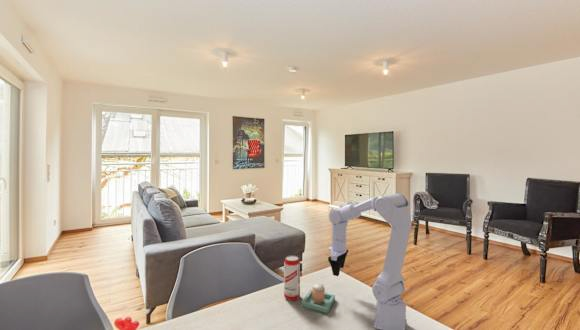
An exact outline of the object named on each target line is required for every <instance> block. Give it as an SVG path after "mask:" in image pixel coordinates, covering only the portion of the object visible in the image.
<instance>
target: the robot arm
mask: <svg viewBox="0 0 580 330" xmlns="http://www.w3.org/2000/svg"><path fill="white" fill-rule="evenodd" d="M410 208H411V202H409V200H408V198H407V197H406V196H405V195H404V194H402V193H400V192H396V193H393V194H387V195H386V194H385V195H378V196H373V197H371V198H368V199H366V200H364V201H362V202H360V203H357V202H352V201H348V202H347V204H346V205H340V206H339V208H332V209H331V210H330V211H329V212H328V218H329V219H328V220H329V221H330V223H331V246H329V247H328V250H329V251H330V252H331V255H330V256H328V257H327V258H328V259H327V261H328V262H329V263H328V264H329V265H330V267H331V271H332V276H336V277H339V275H340V272H341V269H344V267H345V264H346V263H345V262H346V258H347V256H348V253H349V249H347V226H348V222H349V221H351V220H354V219H357V218H360V216H361V215H362V213H364V212H367V211H371V210H373V212H377V213H378V215H379V216H381V218H382V219H384V220H385V222H386V223H387V224H389V225H390V226H391V230H390V235H389V240H388V246H387V250H386V255H385V258H384V259H385V260H384V264H383V268H382V271H381V272H380V273H379V275H378V276H377V277H376V280H375V282H374V283H373V284H372V288H371V290H372V291H371V292H372V293H373V296H374V298H375V300H376V314H375V319H374V323H373V328H374V329H378V330H406V326H407V319H406V317H407V301H404V300H402V299H401V297H402V295H403V294H404V292H405V290H406V286H405V277H404V275H403V274H402V270H403V265H404V261H405V258H406V252H407V248H408V244H409V240H410V236H411V232H412V231H411V230H412V224H413V223H412V218H411V213H410Z"/></svg>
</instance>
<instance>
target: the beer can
mask: <svg viewBox="0 0 580 330" xmlns="http://www.w3.org/2000/svg"><path fill="white" fill-rule="evenodd" d="M283 269H284V270H283V297H285V299H286V300H287V301H291V302H292V301H297V300H298V299H299V298H300V297H301V296H300V295H301V294H300V293H301V263H300V259H299V257H298V256H297V255H294V254H293V255H288V256H286V257H285V260H284V261H283Z"/></svg>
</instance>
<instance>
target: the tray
mask: <svg viewBox="0 0 580 330" xmlns="http://www.w3.org/2000/svg"><path fill="white" fill-rule="evenodd" d="M335 301H336V295H335V294H331V293H329V292H327V293H326V292H325V303H324V304H323V305H321V306H320V305H316V304H313V303H312V289H310V290H309V291H308V292H307V294H306V295H305V296H304V298H303V299H302V301H301V306H300V307H301V308H302V309H306V310H310V311H313V312H316V313H321V314H324V315H328V313H329V312H330V310H331V309H332V306H333V304H334V303H335Z"/></svg>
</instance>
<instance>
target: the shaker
mask: <svg viewBox="0 0 580 330" xmlns="http://www.w3.org/2000/svg"><path fill="white" fill-rule="evenodd" d="M325 288H326V287H325V286H324V284H321V283H315V284H313V286H312V288H311V290H312V303H313V304H316V305H320V306H321V305H323V304H324V303H325V293H326V292H325V290H326V289H325Z"/></svg>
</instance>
